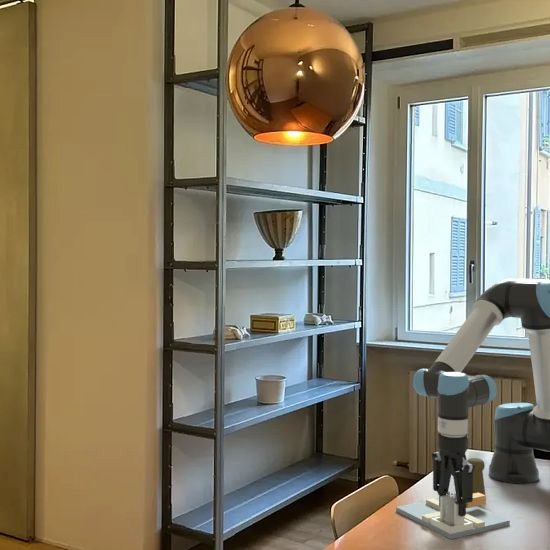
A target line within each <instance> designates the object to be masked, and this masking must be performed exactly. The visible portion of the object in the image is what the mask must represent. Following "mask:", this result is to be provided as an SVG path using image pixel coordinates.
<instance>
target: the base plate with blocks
mask: <svg viewBox="0 0 550 550" xmlns="http://www.w3.org/2000/svg"><path fill="white" fill-rule="evenodd" d="M395 509H396V512H397V513H398V514H401V515H403V516H404V517H406V518H408V519H411V520H412V521H414V522H417V523H418V524H419V525H422V526H424V527H427V528H428V529H430V530H432V531H434V532H436V533H438V534H440V535H442V536H444V537H446V538H448V539H450V540H454V539H458V538H462V537H467V536H470V535H474V534H478V533H479V534H480V533H482V532H486V531H487V532H488V531H491V530H495V529H500V528H503V527H506V526H510V520H509V519H507V518H505V517H504V516H500V515H498V514H496V513H494V512H492V511H489V510H487V509H484V508H482V507H480V506H476V507H471V508H466V515H465V518H464V519H466V520H468V521H470V522H472V523H473V529H470V530H466V531H462V532H458V533H453V534H450V533H448V532H446V531H444V530H442V529H440V528H438V527H436V526H434V525H432V524H431V518H435V517H440V506H439V497H438V498H433V497H432V498H428V499H427V498H426V500H424V501H418V502H414V503H409V504H404V505H399V506H396V507H395Z"/></svg>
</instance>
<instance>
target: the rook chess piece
mask: <svg viewBox="0 0 550 550" xmlns="http://www.w3.org/2000/svg"><path fill="white" fill-rule="evenodd" d="M446 495H447V497H446V499H447V501H448V502H447V513H446V515H445V517H444V522H443V523H444V524H446V525H449V526H451V527H452V526H454V503H455V502H456V501H457V498H456V493H453V492H450V493H448V494H446Z"/></svg>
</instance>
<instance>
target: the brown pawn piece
mask: <svg viewBox="0 0 550 550" xmlns="http://www.w3.org/2000/svg"><path fill="white" fill-rule="evenodd" d="M467 462H469V463H470V464H474V465H475V468H474V472H473V493H478V492H479V493H481V494H483V495H486V489H485V479H484V472H483V471H484V470H485V462H484V460H483V459H481V458H478V457H471V458H468V459H467Z"/></svg>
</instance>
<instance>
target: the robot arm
mask: <svg viewBox="0 0 550 550" xmlns="http://www.w3.org/2000/svg"><path fill="white" fill-rule="evenodd" d="M471 311H472V312H471V313H470V314H469V315H468V317H467V318H466V319H465V321H464V322H463V323H462V325H461V326H460V328H459V329H458V330H457V331H456V333H455V334H454V335H453V337H452V338H451V339H450V341H449V342H448V343H447V345H446V346H445V348H444V349H443V350H442V351H441V353H440V354H439V356H438V357H437V358H436V360H435V361H434V362H433V364H432V365H431V366H430V367H429V368H420V369H418V370H417V371H416V372H415V373H414V375H413V380H412V386H413V388H414V391H415V393H416V394H418V395H421V396H424V397H427V398H429V399H431V398H432V399H437V407H438V408H437V409H438V410H437V416H438V417H437V431H438V434H437V448H438V449H439V451H436V452H432V453H431V458H432V476H433V477H432V489H433V491H434V492H437V495H438V498H439V506H440V521H441V522H444V517H445V515H446V513H447V502H448V501H447V499H446V497H447V494H448V493H450V494H451V492H450V491H449V489H450V483H451V478H452V477H453V483H454V484H453V485H454V492H455V494H456V498H457V501H456V502H455V503H454V526H456V525H461V524H464V518H465V515H466V503H469V502H472V501H473V472H474V468H475V465H474V464H470V463H469V462H467V460H468V459H467V456H466V452H467V451H468V450H469V449H468V448H469V435H467V434H469V408H473V407H476V406H477V407H478V406H481V405H485V404H489V403H490V402H492V401H493V400H494V399H495V398H496V395H497V392H498V388H497V385H496V382H495V380H494V379H493V378H492V377H490V376H489V375H487V374H476V375H468V374H467V373H465V372H463V370H465V367H466V366H467V364H468V363H469V362H470V361H471V359H472V358H473V356H474V355H475V354H476V352H478V351H477V350H479V347H481V345H482V344H483V342H484V341H485V339H486V338H488V336H489V334H490V333H491V331H492V330H493V329H494V327H495V326H498V325H500V324H501V323H502V322H503V321H504V320H505V319H508V318H517V319H518V318H519V319H520V321H521V322H520V323H521V327H522V329H523V330H525V331H526V332H527V334H528V335H527V336H528V344H529V351H530V360H531V367H532V375H533V383H534V391H535V400H536V405H535V406H534V404H533V403H531V402H530V403H529V402H510V403H503V404H499V405H498V406H496V408H495V412H494V414H495V415H494V419H493V420H494V451H493V455H492V457H491V460H490V464H489V466H488V475H489V477H490V478H492V479H494V480H497V481H501V482H505V483H511V484H532V483H535V482H537V481H539V478H540V471H539V469H538V468H537V462H536V459H535V455H534V450H539V451H543V452H547V453H548V452H549V453H550V279H547V278H546V279H545V278H540V279H539V278H537V279H535V278H514V277H513V278H507V279H503V280H500V281H499V282H496V283H495V284H493V285H492V286H490V287H488V289H486V290H485V291H484V292H483V293H481V294H480V295H479V297H478V298H477V299H476V300H475V301H474V302H473V305H472V310H471Z"/></svg>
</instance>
